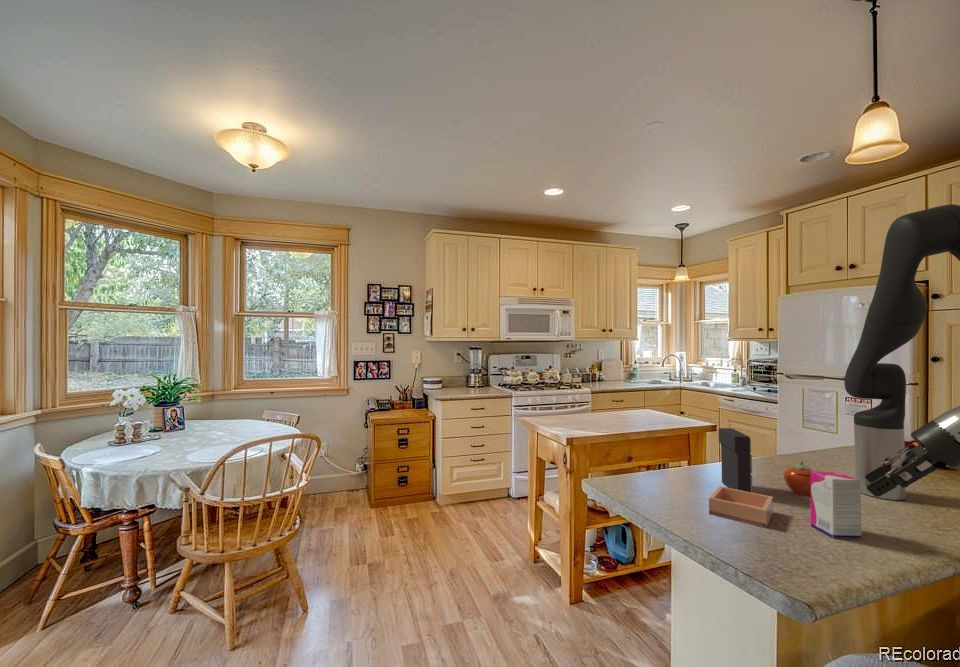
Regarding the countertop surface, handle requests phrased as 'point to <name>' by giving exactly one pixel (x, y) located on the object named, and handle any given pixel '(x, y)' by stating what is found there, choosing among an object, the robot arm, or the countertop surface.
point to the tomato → (798, 478)
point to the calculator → (736, 459)
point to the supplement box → (836, 504)
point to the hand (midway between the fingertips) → (869, 486)
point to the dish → (741, 506)
